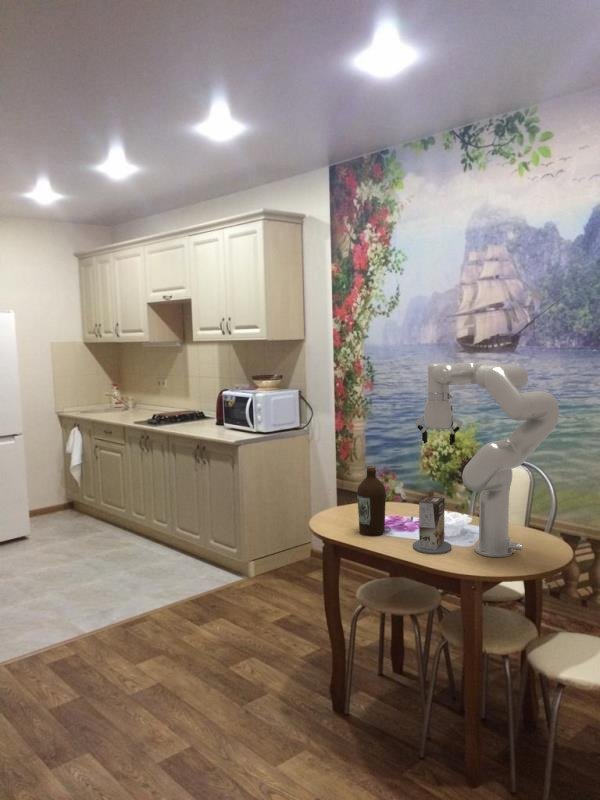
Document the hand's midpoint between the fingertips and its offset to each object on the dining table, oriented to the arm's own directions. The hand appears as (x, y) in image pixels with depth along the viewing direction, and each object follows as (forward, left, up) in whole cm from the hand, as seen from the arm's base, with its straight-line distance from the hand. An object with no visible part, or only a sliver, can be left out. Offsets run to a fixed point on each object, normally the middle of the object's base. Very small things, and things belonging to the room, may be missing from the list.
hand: (438, 443), depth 239 cm
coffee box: (-2, +18, -32) cm, 37 cm away
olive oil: (+23, +9, -34) cm, 42 cm away
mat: (-2, +18, -33) cm, 38 cm away
